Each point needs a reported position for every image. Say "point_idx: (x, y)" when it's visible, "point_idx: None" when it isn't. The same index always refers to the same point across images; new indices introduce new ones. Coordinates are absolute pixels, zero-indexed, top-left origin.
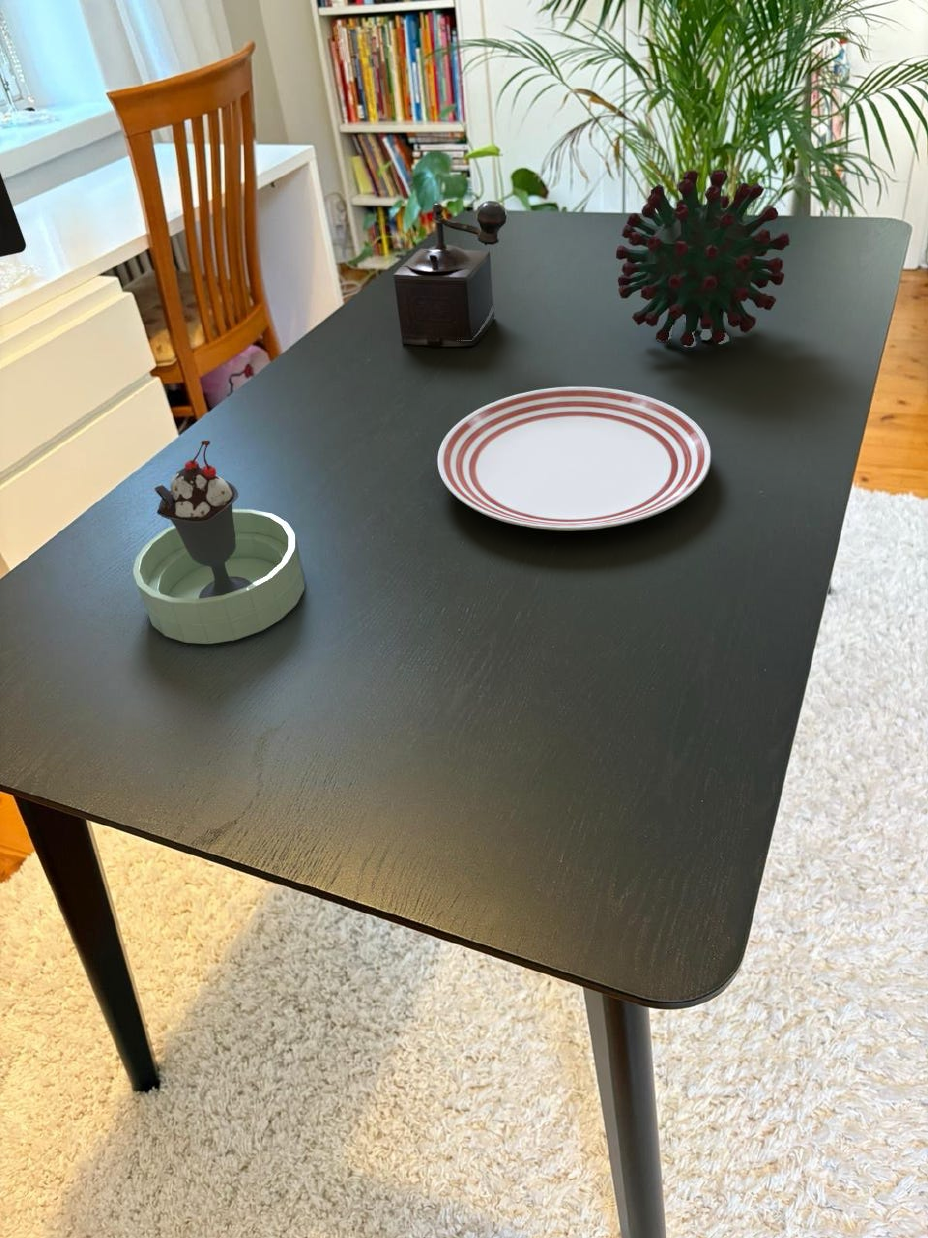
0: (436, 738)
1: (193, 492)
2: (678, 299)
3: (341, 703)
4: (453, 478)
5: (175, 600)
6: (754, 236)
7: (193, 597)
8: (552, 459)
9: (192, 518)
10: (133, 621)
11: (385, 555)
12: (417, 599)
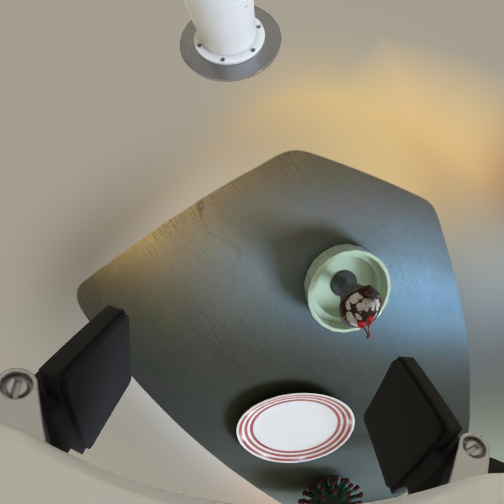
0: (190, 303)
1: (356, 309)
2: (324, 492)
3: (234, 286)
4: (323, 398)
5: (329, 260)
6: None
7: (354, 269)
8: (306, 426)
9: (347, 297)
10: (362, 237)
11: (312, 351)
12: (272, 345)
